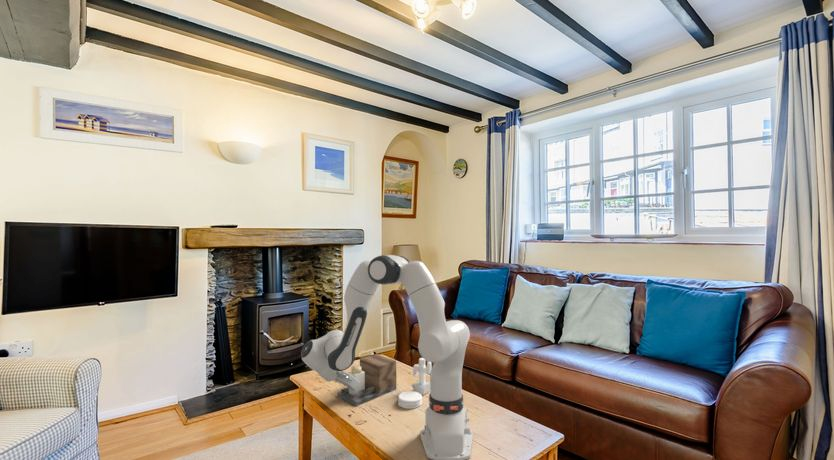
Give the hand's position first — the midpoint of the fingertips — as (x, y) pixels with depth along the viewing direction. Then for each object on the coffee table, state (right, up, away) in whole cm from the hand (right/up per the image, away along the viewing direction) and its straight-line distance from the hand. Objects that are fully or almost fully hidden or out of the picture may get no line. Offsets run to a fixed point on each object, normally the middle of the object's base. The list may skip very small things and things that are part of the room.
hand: (350, 385), depth 161 cm
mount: (+7, -6, +7) cm, 11 cm away
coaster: (+26, -6, -4) cm, 27 cm away
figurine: (+31, -6, +6) cm, 32 cm away
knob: (+2, -4, +2) cm, 5 cm away
